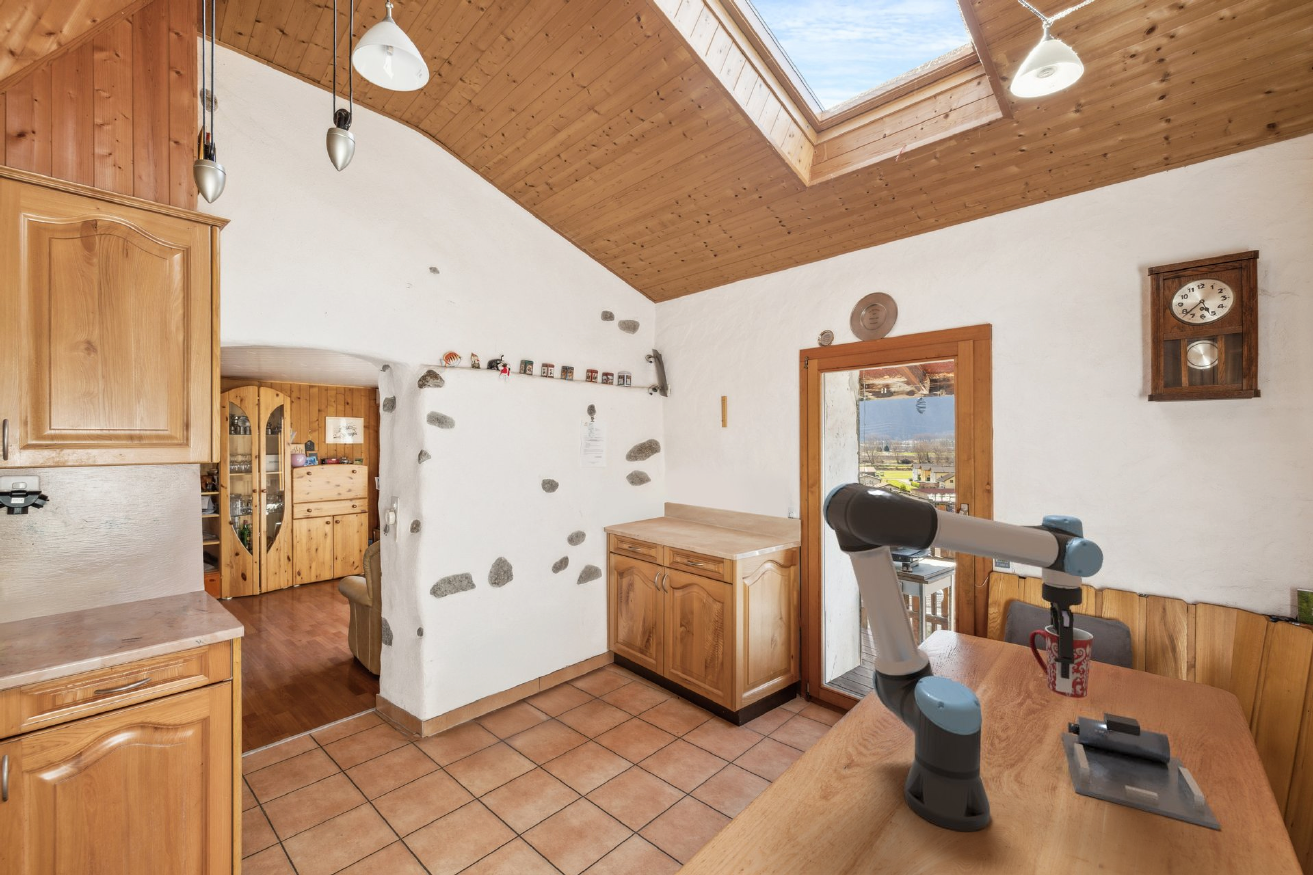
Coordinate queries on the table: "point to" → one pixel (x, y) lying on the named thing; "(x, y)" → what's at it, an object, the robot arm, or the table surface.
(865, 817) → the table surface
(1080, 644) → the mug
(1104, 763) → the plate
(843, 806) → the table surface
